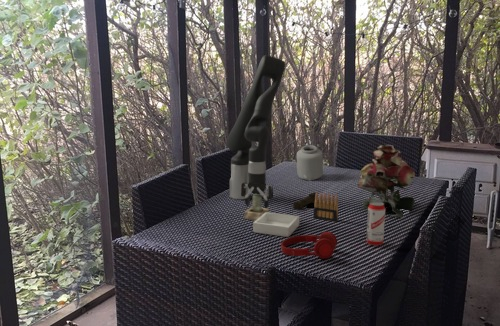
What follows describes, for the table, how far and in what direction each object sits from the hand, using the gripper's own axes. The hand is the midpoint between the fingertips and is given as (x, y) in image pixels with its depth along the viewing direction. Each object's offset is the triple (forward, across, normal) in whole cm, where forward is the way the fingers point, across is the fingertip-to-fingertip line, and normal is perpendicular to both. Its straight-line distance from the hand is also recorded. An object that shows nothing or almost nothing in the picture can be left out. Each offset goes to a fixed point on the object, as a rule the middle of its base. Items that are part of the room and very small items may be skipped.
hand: (257, 206), depth 219 cm
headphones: (+5, +31, -30) cm, 43 cm away
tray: (+5, +13, -11) cm, 18 cm away
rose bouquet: (+5, +50, +35) cm, 62 cm away
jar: (+5, +3, +75) cm, 75 cm away
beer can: (+5, +53, -13) cm, 55 cm away
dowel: (+5, 0, 0) cm, 5 cm away
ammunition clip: (+5, +29, +8) cm, 30 cm away
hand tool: (+5, +15, +26) cm, 30 cm away
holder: (+5, 0, 0) cm, 5 cm away
